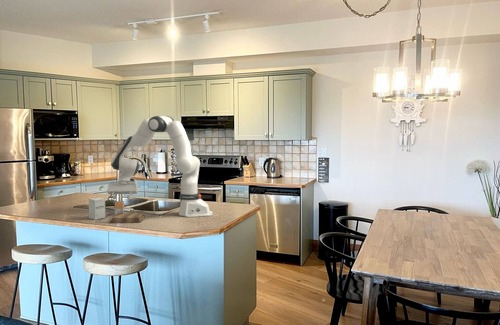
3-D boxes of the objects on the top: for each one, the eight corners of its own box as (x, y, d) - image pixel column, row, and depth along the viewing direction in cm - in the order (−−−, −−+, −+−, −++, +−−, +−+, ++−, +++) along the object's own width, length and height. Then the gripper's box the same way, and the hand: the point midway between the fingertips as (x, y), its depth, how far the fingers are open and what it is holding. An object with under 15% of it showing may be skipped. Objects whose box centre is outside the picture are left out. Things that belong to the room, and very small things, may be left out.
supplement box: (95, 220, 234) (94, 200, 233) (88, 218, 238) (88, 198, 237) (105, 217, 239) (105, 198, 238) (99, 216, 244) (98, 197, 243)
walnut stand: (145, 216, 242) (145, 212, 242) (140, 222, 226) (140, 217, 226) (117, 217, 241) (116, 212, 241) (109, 223, 225) (109, 218, 225)
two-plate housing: (124, 214, 250) (124, 201, 249) (122, 215, 246) (122, 202, 245) (116, 214, 250) (116, 201, 249) (115, 215, 246) (114, 202, 245)
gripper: (108, 179, 257) (104, 196, 249) (138, 179, 259) (135, 195, 250) (110, 185, 262) (106, 201, 253) (139, 184, 264) (137, 200, 255)
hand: (121, 198), depth 252 cm, fingers open, 8 cm apart
